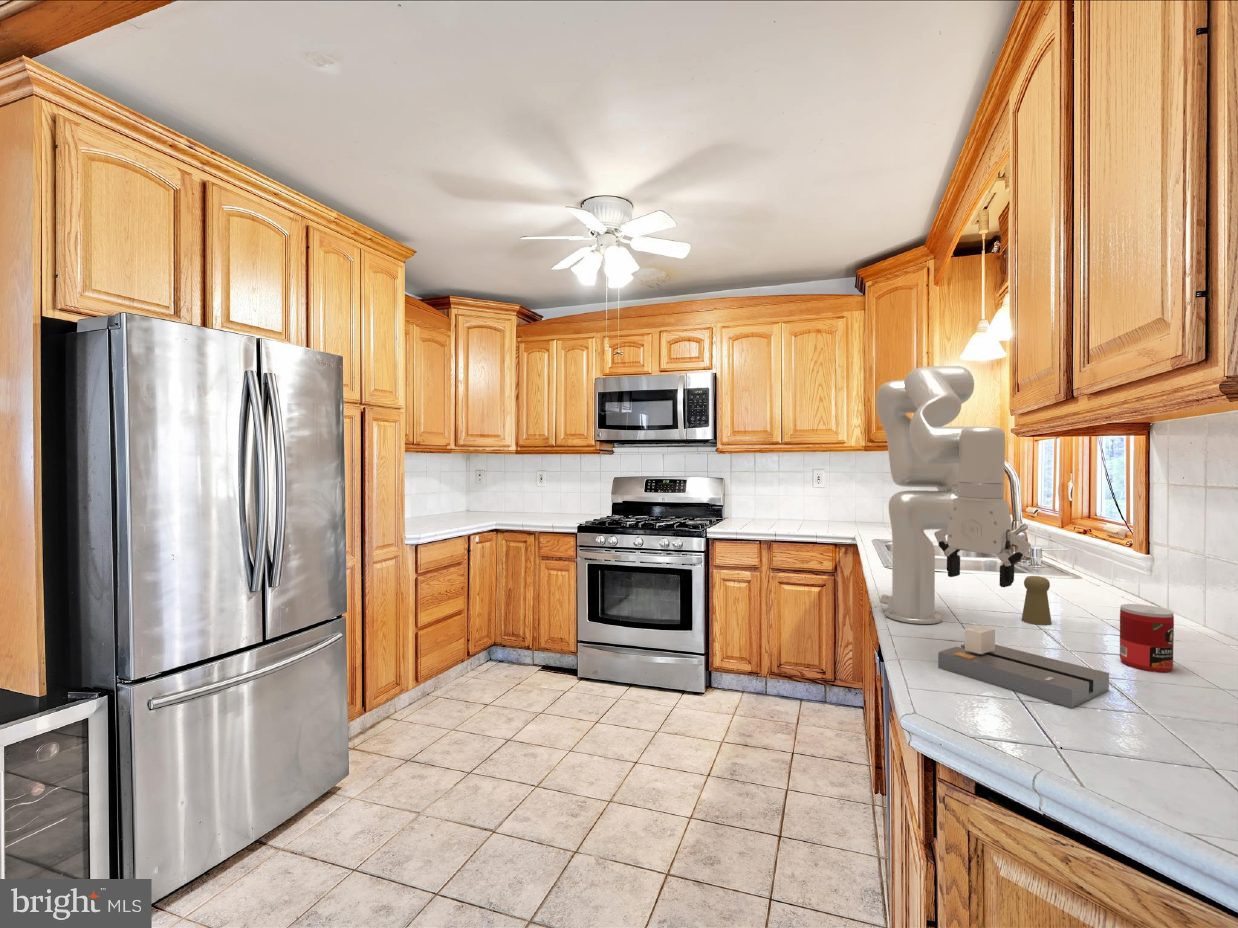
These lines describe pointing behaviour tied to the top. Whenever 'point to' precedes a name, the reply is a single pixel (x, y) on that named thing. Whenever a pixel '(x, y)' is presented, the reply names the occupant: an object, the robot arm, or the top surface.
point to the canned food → (1146, 637)
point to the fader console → (1028, 674)
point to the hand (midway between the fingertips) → (978, 580)
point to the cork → (1036, 601)
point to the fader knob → (979, 639)
